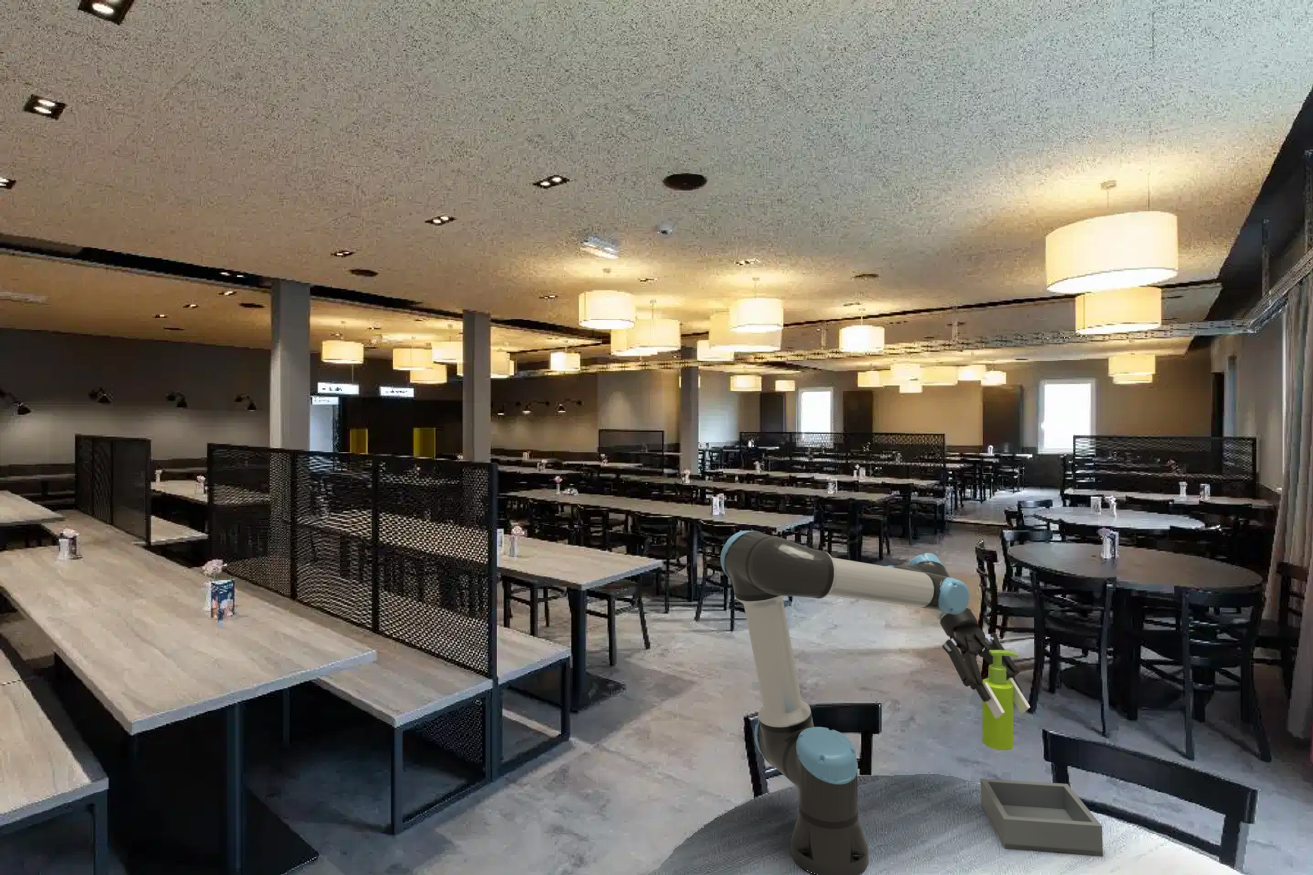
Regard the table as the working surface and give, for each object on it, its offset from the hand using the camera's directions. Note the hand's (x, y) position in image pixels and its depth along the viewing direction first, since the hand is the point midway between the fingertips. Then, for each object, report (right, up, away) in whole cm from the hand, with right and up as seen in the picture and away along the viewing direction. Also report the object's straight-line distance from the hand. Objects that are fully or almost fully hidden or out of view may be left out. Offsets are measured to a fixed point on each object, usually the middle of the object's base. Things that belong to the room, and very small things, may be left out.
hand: (1012, 712), depth 138 cm
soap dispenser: (-1, -8, +4) cm, 9 cm away
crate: (+6, -25, +2) cm, 26 cm away
